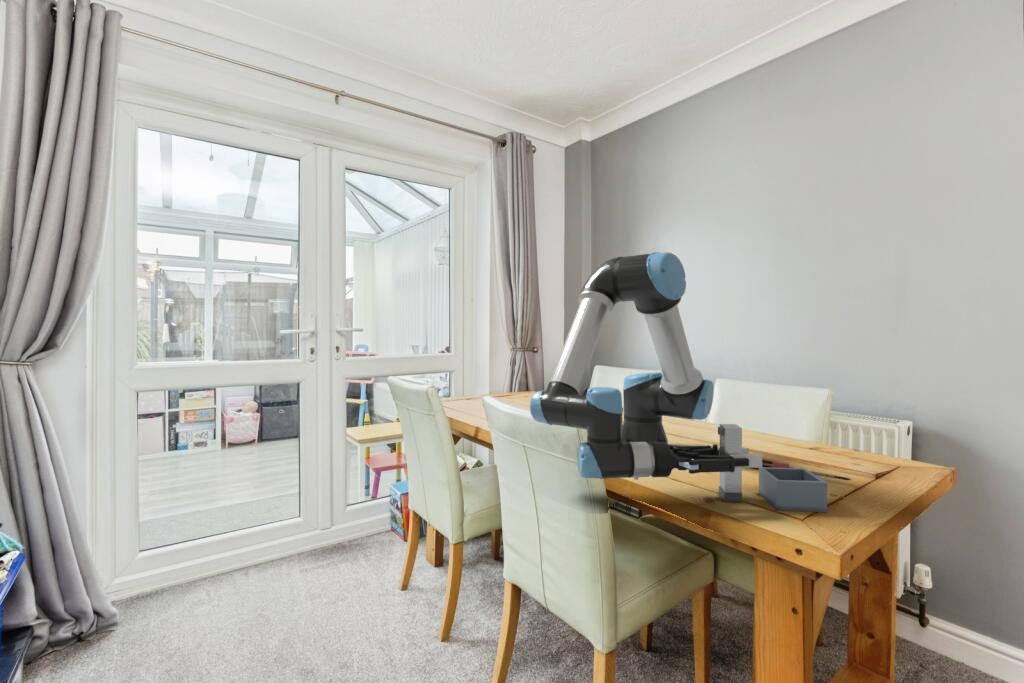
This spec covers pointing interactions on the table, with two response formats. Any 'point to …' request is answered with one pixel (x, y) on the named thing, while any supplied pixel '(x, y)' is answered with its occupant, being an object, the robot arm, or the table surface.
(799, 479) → the caddy
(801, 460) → the table surface
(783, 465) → the screwdriver
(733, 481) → the brushed metal post
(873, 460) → the table surface
